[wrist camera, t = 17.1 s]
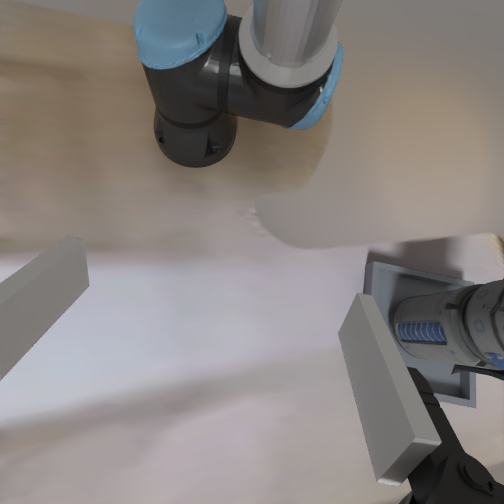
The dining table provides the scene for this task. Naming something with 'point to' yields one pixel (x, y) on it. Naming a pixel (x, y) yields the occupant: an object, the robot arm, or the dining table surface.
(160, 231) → the dining table surface
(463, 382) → the tray
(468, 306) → the beverage bottle
